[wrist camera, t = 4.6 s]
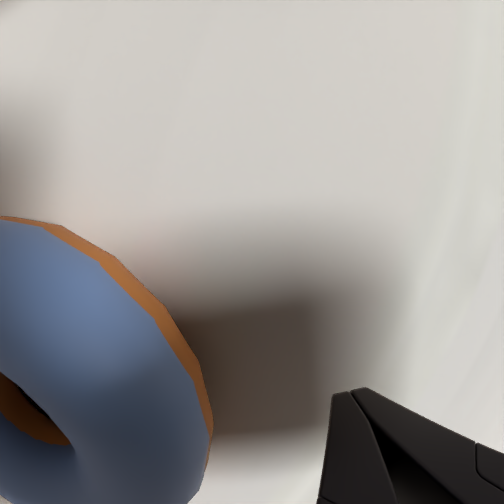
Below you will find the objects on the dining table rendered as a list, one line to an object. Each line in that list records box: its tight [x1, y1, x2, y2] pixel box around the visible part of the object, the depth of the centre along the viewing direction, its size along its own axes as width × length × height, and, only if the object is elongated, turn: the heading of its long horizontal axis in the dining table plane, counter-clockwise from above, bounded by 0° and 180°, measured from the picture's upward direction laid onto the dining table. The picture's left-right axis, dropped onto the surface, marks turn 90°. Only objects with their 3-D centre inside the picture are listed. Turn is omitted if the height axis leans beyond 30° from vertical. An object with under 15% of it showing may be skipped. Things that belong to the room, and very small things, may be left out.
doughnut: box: [0, 216, 214, 504], centre depth 6 cm, size 10×10×5 cm
